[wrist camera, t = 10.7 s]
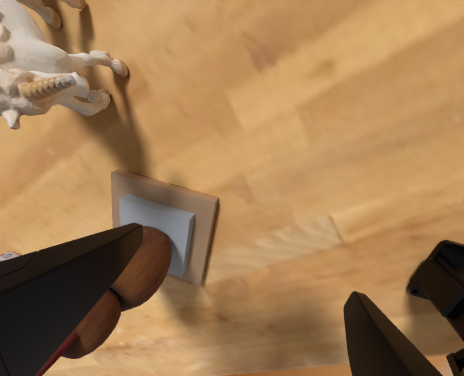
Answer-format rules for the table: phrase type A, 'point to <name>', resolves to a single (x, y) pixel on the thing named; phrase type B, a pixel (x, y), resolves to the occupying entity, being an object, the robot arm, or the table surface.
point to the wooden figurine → (120, 297)
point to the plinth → (168, 219)
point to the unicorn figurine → (44, 66)
